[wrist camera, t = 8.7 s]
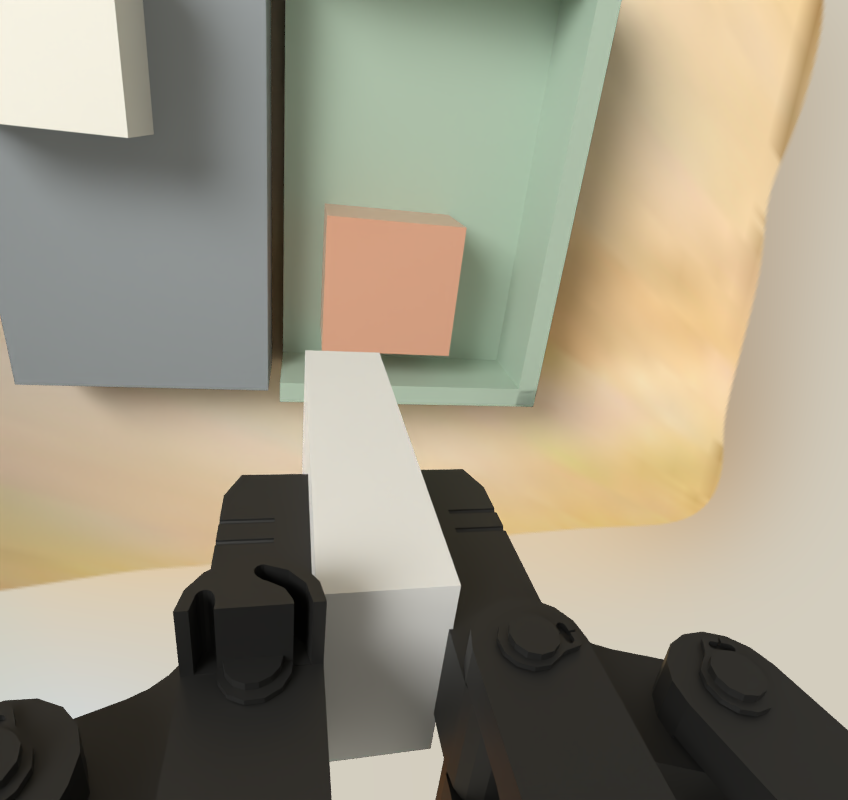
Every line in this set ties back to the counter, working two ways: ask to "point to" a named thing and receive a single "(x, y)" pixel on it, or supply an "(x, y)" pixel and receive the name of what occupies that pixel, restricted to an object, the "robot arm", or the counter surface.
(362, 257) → the tile
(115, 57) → the tile
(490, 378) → the tray
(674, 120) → the counter surface
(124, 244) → the board
